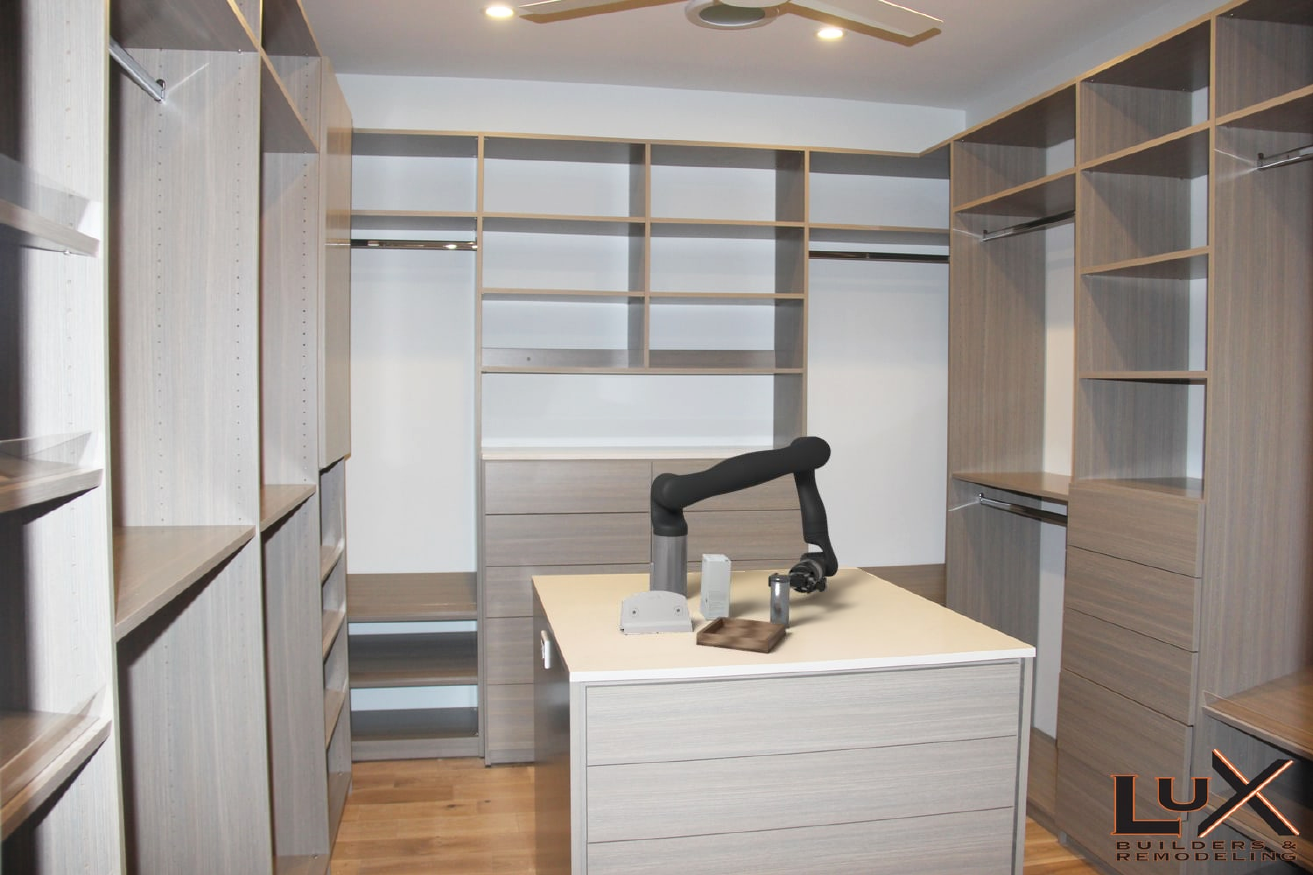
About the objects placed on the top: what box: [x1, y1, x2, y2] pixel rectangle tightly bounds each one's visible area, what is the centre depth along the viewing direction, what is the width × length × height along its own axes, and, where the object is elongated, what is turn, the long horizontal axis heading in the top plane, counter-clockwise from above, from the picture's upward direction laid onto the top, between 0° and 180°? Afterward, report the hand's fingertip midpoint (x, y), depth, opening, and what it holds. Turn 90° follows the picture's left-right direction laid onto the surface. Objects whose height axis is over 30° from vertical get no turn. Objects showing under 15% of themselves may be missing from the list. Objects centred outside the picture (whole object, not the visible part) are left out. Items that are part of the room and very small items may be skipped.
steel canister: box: [769, 574, 791, 630], centre depth 213 cm, size 5×5×12 cm
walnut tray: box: [695, 616, 787, 654], centre depth 202 cm, size 16×16×2 cm
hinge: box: [619, 590, 693, 635], centre depth 210 cm, size 17×5×10 cm, turn 103°
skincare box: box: [699, 553, 732, 621], centre depth 222 cm, size 8×6×15 cm
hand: (791, 587), depth 223 cm, fingers open, 8 cm apart
